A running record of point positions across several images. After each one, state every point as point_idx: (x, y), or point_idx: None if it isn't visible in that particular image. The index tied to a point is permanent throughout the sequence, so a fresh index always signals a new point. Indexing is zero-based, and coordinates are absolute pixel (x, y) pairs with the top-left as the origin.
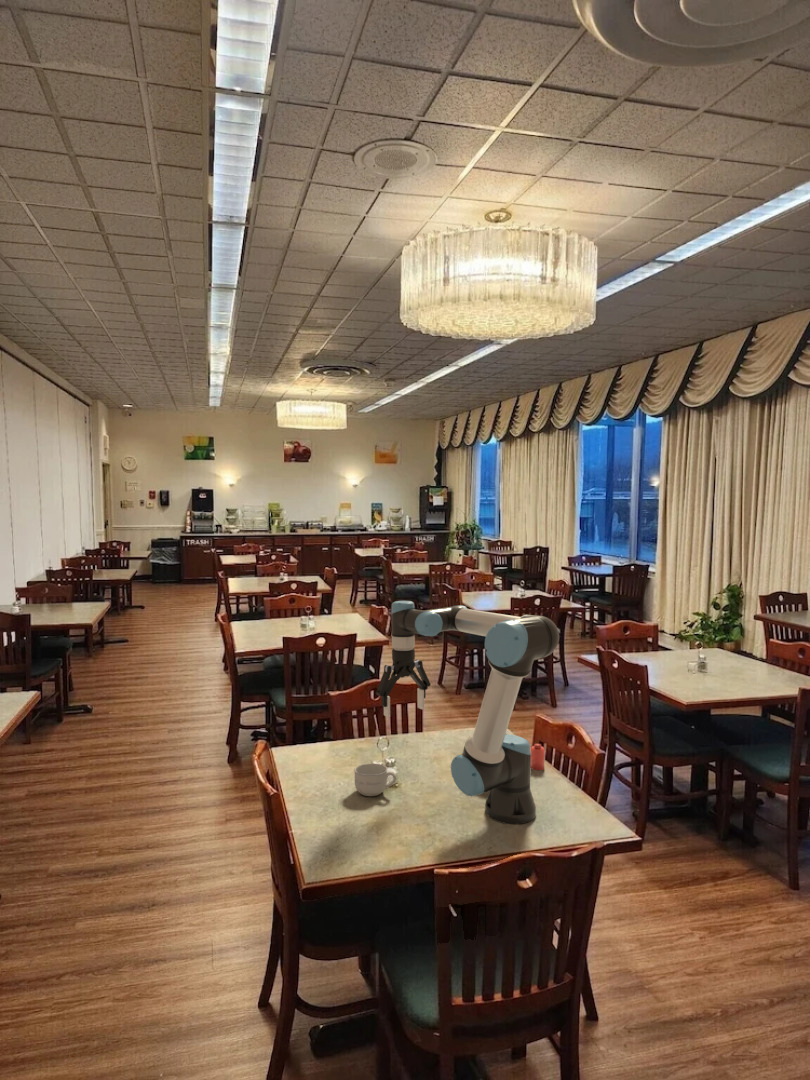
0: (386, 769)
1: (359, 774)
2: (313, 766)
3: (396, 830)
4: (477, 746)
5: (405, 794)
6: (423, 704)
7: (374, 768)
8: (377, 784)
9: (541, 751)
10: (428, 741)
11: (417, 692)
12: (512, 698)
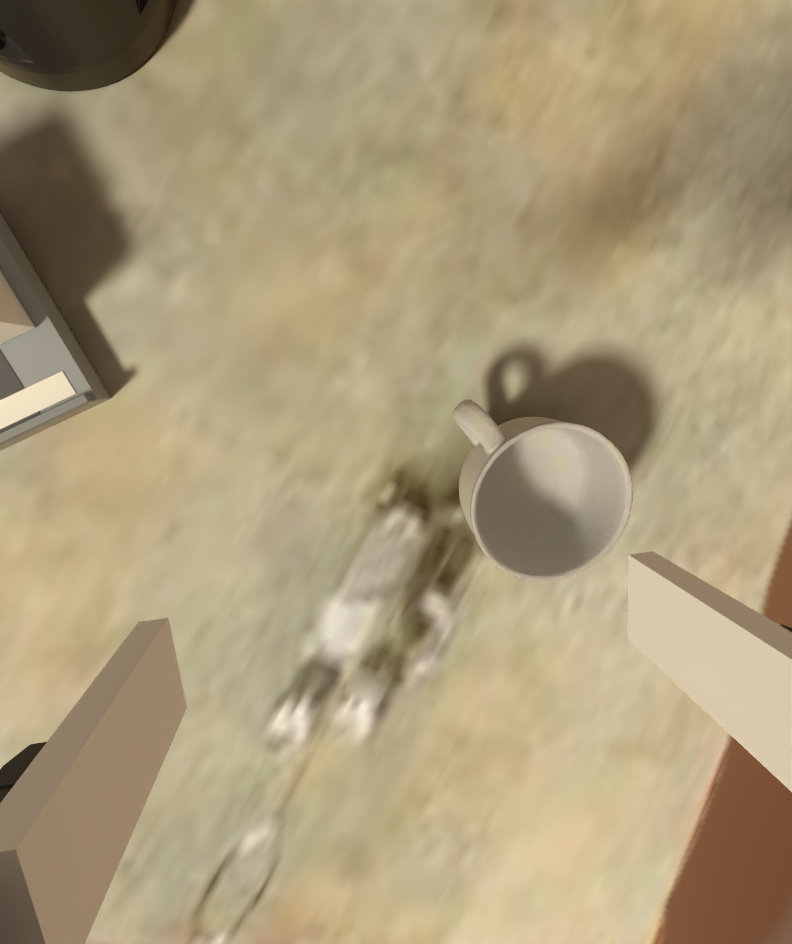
0: (491, 464)
1: (629, 473)
2: (587, 782)
3: (592, 127)
4: None
5: (401, 393)
6: (123, 654)
7: (495, 551)
8: (545, 418)
9: None
10: None
11: (101, 898)
12: None
